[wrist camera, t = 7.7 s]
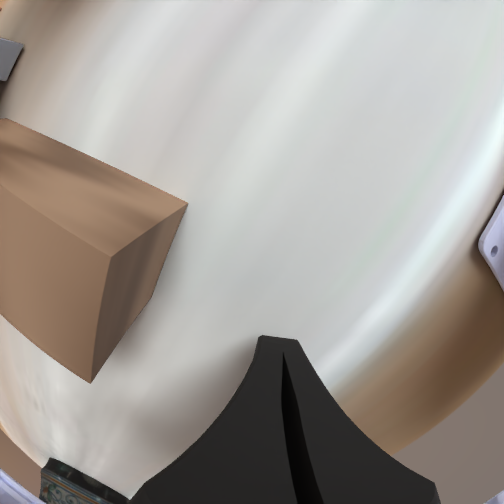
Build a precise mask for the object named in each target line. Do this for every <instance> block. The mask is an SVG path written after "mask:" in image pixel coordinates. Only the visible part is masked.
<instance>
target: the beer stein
mask: <svg viewBox="0 0 504 504" xmlns="http://www.w3.org/2000/svg"><path fill="white" fill-rule="evenodd" d="M39 499H40V500H42V501H43V502H45V503H46V504H128V503H129V501H130V500H129V499H127V498H126V497H125V496H123V495H121V494H120V493H118V492H116V491H114V490H113V489H111V488H109V487H108V486H106V485H104V484H102V483H100V482H99V481H97V480H95V479H93V478H91V477H89V476H87V475H86V474H84V473H82V472H80V471H78V470H76V469H75V468H73V467H71V466H69V465H67V464H65V463H63V462H61V461H59V460H56V459H53V458H49V460H48V462H47V464H46V465H45V466H44V467H43V468H42V469H41V489H40V496H39Z"/></svg>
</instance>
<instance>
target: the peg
mask: <svg viewBox="0 0 504 504" xmlns="http://www.w3.org/2000/svg"><path fill="white" fill-rule="evenodd" d="M187 205H188V203H187V202H185V201H183V200H181V199H179V198H177V197H175V196H173V195H171V194H169V193H167V192H165V191H162V190H160V189H158V188H156V187H154V186H152V185H150V184H148V183H146V182H144V181H142V180H140V179H138V178H135V177H133V176H131V175H129V174H127V173H125V172H123V171H121V170H119V169H116V168H114V167H112V166H110V165H108V164H106V163H104V162H102V161H99V160H97V159H95V158H93V157H91V156H89V155H87V154H84V153H82V152H80V151H78V150H76V149H74V148H71V147H69V146H67V145H65V144H63V143H60V142H58V141H56V140H54V139H52V138H49V137H47V136H45V135H43V134H41V133H38V132H36V131H34V130H32V129H29V128H27V127H25V126H23V125H20V124H18V123H16V122H14V121H11V120H9V119H7V118H5V119H0V314H1V315H2V316H3V317H4V318H5V319H6V320H7V321H8V322H9V323H11V324H12V325H13V326H14V327H15V328H16V329H17V330H18V331H19V332H21V333H22V334H23V335H24V336H25V337H26V338H28V339H29V340H30V341H31V342H32V343H34V344H35V345H36V346H37V347H39V348H40V349H41V350H42V351H44V352H45V353H46V354H48V355H49V356H50V357H52V358H53V359H54V360H56V361H57V362H58V363H60V364H61V365H63V366H64V367H65V368H67V369H68V370H70V371H71V372H73V373H74V374H76V375H77V376H79V377H80V378H82V379H83V380H85V381H87V382H88V383H90V384H91V383H92V381H93V380H94V378H95V377H96V375H97V374H98V372H99V371H100V369H101V368H102V366H103V365H104V363H105V362H106V360H107V359H108V357H109V356H110V354H111V353H112V351H113V350H114V348H115V347H116V345H117V344H118V343H119V341H120V340H121V338H122V337H123V335H124V334H125V333H126V331H127V330H128V328H129V327H130V326H131V324H132V323H133V321H134V320H135V319H136V317H137V316H138V315H139V313H140V312H141V310H142V309H143V308H144V306H145V305H146V304H147V302H148V301H149V300H150V298H151V297H152V294H153V291H154V289H155V286H156V283H157V280H158V278H159V275H160V272H161V269H162V267H163V264H164V261H165V259H166V256H167V254H168V251H169V249H170V246H171V244H172V241H173V239H174V236H175V234H176V231H177V229H178V226H179V224H180V222H181V219H182V217H183V214H184V212H185V210H186V207H187Z"/></svg>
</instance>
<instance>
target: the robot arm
mask: <svg viewBox="0 0 504 504" xmlns="http://www.w3.org/2000/svg"><path fill="white" fill-rule="evenodd" d="M478 247H479V251H480V253H481V254H482V256H483V257H484V259H485V260H486V262H487V264H488V265H489V267H490V268H491V270H492V272H493V273H494V275H495V277H496V279H497V280H498V282H499V284H500V286H501V288H502V289H503V291H504V195H503V197H502V199H501V201H500V203H499V205H498V207H497V209H496V211H495V212H494V214H493V216H492V218H491V220H490V221H489V223H488V225H487V226H486V228H485V230H484V231H483V233H482V235H481V237H480V239H479V243H478ZM0 504H46V503H45V502H43V501H42V500H40V499H39V498H37V497H36V496H34V495H33V494H31V493H30V492H29V491H27V490H26V489H25V488H23V487H22V485H20V484H19V483H18V482H17V481H15V480H14V479H13V478H12V477H10V476H9V475H8V474H7V473H5V472H4V471H3V470H2V469H1V468H0ZM128 504H441V503H440V499H439V496H438V492H437V489H436V486H435V483H434V482H432V481H430V480H428V479H426V478H425V477H423V476H421V475H419V474H417V473H415V472H414V471H412V470H410V469H408V468H407V467H405V466H404V465H402V464H401V463H399V462H398V461H397V460H395V459H394V458H392V457H391V456H390V455H388V454H387V453H386V452H385V451H383V450H382V449H381V448H380V447H379V446H377V445H376V444H375V443H374V442H373V441H372V440H371V439H369V438H368V437H367V436H366V435H365V434H364V433H363V432H362V431H361V430H360V429H359V428H358V427H357V426H356V425H355V424H354V423H353V422H352V421H351V419H350V418H349V417H348V416H347V415H346V414H345V413H344V411H343V410H342V409H341V408H340V406H339V405H338V404H337V402H336V401H335V400H334V398H333V397H332V396H331V394H330V393H329V391H328V390H327V389H326V387H325V386H324V384H323V382H322V381H321V379H320V378H319V376H318V375H317V373H316V372H315V370H314V368H313V367H312V365H311V363H310V361H309V360H308V358H307V356H306V354H305V352H304V351H303V349H302V347H301V345H300V343H299V342H298V340H294V339H287V338H279V337H272V336H265V335H262V336H260V337H258V341H257V346H256V350H255V354H254V358H253V361H252V363H251V365H250V367H249V369H248V372H247V374H246V376H245V377H244V379H243V381H242V383H241V384H240V386H239V388H238V389H237V391H236V393H235V394H234V396H233V397H232V399H231V400H230V402H229V403H228V404H227V406H226V407H225V408H224V410H223V411H222V412H221V414H220V415H219V416H218V417H217V419H216V420H215V421H214V422H213V423H212V424H211V426H210V427H209V428H208V429H207V430H206V431H205V432H204V433H203V435H202V436H201V437H200V438H199V439H198V440H197V441H196V442H195V443H194V444H192V445H191V446H190V447H189V448H188V449H187V450H186V451H185V452H184V453H183V454H182V455H181V456H179V457H178V458H177V459H176V460H175V461H174V462H172V463H171V464H170V465H169V466H167V467H166V468H165V469H163V470H162V471H161V472H159V473H158V474H156V475H155V476H154V477H152V478H151V479H149V480H148V481H147V482H145V483H144V484H143V485H142V487H141V488H140V489H139V490H138V491H137V493H136V494H135V495H134V496H133V497H132V499H131V500H130V501H129V503H128ZM484 504H504V490H503V491H501V492H500V493H498V494H497V495H496V496H494V497H493V498H491V499H490V500H488V501H487V502H485V503H484Z"/></svg>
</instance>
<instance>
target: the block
mask: <svg viewBox="0 0 504 504" xmlns="http://www.w3.org/2000/svg"><path fill="white" fill-rule="evenodd" d="M23 45H24V44H20V43H17V42H14V41H10V40H7V39H3V38H0V80H3V81H7V78H8V76H9V74H10V71H11V69H12V67H13V65H14V63H15V61H16V59H17V57H18V55H19V53H20V51H21V49H22V47H23Z"/></svg>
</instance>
